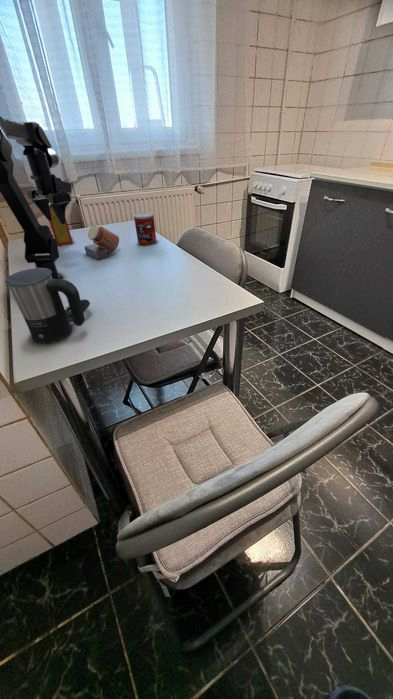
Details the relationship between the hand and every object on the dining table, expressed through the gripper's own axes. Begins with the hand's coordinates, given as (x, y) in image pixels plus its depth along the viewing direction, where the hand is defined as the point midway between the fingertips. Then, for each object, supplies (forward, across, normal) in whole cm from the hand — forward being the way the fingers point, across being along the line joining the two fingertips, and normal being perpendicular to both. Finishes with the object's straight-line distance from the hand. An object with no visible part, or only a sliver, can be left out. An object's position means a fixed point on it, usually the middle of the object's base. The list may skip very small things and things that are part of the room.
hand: (56, 222), depth 104 cm
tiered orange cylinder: (+13, -7, -13) cm, 20 cm away
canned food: (+13, -10, -31) cm, 35 cm away
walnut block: (+13, -6, -9) cm, 17 cm away
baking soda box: (+13, +22, -11) cm, 28 cm away
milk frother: (+14, -42, +26) cm, 51 cm away
